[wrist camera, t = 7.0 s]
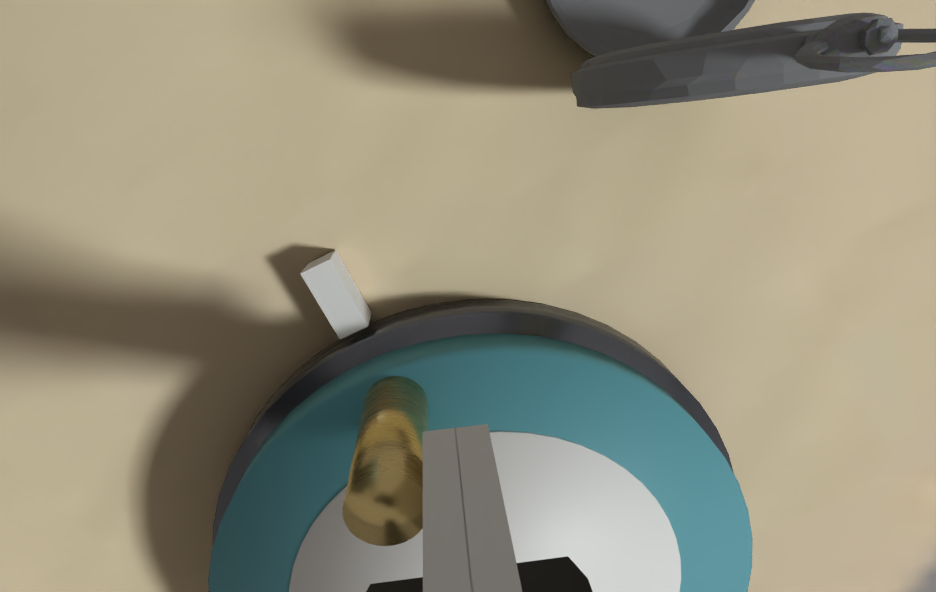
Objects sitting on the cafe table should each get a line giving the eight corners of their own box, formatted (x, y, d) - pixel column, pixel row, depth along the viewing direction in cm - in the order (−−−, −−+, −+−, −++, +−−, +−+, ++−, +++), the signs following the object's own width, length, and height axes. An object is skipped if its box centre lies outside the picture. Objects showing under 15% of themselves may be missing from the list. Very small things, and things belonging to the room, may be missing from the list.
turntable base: (68, 378, 18) (38, 401, 17) (595, 124, 17) (610, 126, 16) (377, 760, 25) (374, 798, 24) (770, 601, 24) (792, 632, 23)
